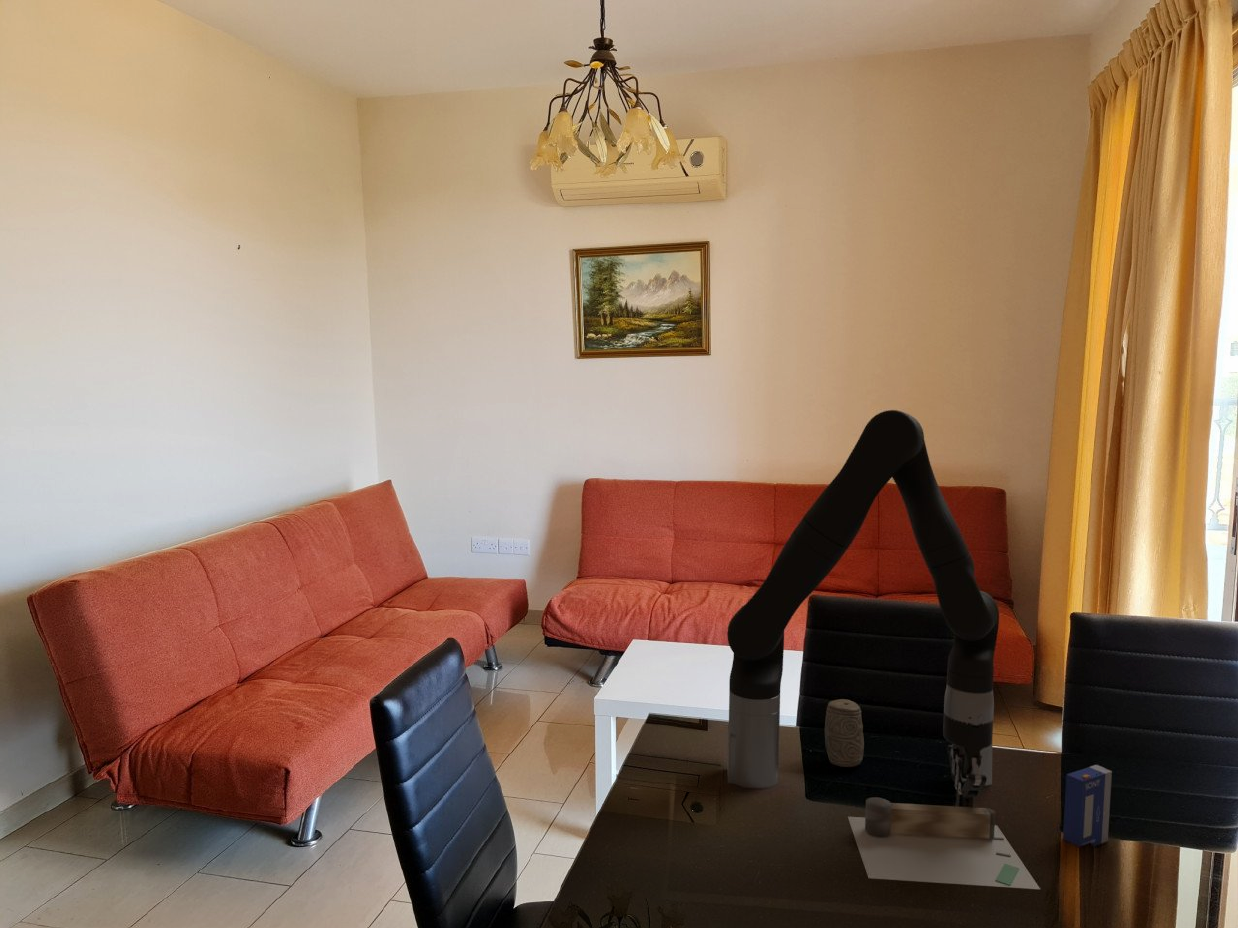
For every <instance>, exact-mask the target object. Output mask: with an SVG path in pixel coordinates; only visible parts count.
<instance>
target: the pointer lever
mask: <svg viewBox="0 0 1238 928" xmlns="http://www.w3.org/2000/svg"><path fill="white" fill-rule="evenodd" d="M864 813H865V815H864V818H865V830H866V831H867V832H868V833H869V834H871V835H874V836H879V837H885V836H888V835H890V834H891V833H901V834H918V835H934V836H951V837H968V838H984V839H993V838H994V829H995V825H996V811H995V810H993V809H992V808H987V807H973V808H972V807H956V805H955V806H953V805H952V806H951V805H933V804H920V803H919V804H917V803H916V804H915V803H903V802H902V803H900V802H898V803H897V802H896V803H895V802H890V801H889V800H887V799H885V798H882V797H869V798H867V799H866V800H865V812H864Z"/></svg>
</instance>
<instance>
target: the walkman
mask: <svg viewBox="0 0 1238 928" xmlns="http://www.w3.org/2000/svg"><path fill="white" fill-rule="evenodd" d="M1112 774H1113V771H1112V770H1110V769H1107V768H1105V767H1103V766H1100V765H1099V764H1094V765H1091V766H1088V767H1085V768H1083V769H1079V770H1076V771H1072V772H1070V773H1067V774H1065V775H1066V776H1065V778H1066V779H1065V793H1064V794H1065V797H1064V799H1065V800H1064V810H1063V812H1064V813H1063V816H1064V817H1063V832H1062V833H1063V834H1062V835H1063V836H1062V839H1063V840H1064V841H1066V842H1068V843H1071V844H1072V845H1074V846H1076V847H1079V848H1080V847H1082V846H1085V845H1087V844H1091V845H1092V847H1096V846H1099V845H1101V844H1104V843H1107V842H1109V841H1108V840H1109V824H1110V810H1111V809H1110V807H1111V791H1112V778H1113V777H1112V776H1113V775H1112Z"/></svg>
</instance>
